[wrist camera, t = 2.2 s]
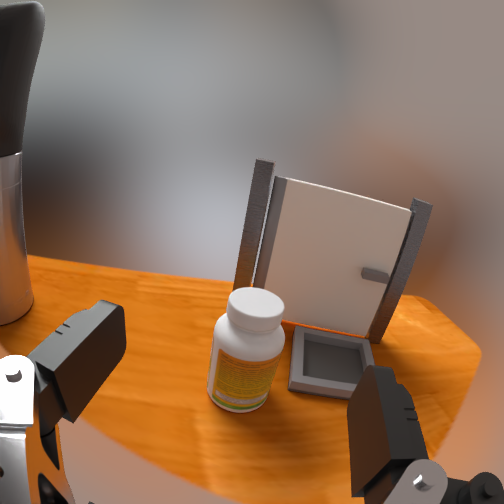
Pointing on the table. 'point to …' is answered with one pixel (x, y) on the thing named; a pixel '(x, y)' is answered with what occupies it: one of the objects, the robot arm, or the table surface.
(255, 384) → the supplement bottle
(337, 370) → the shallow tray
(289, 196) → the door
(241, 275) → the door frame
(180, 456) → the table surface
